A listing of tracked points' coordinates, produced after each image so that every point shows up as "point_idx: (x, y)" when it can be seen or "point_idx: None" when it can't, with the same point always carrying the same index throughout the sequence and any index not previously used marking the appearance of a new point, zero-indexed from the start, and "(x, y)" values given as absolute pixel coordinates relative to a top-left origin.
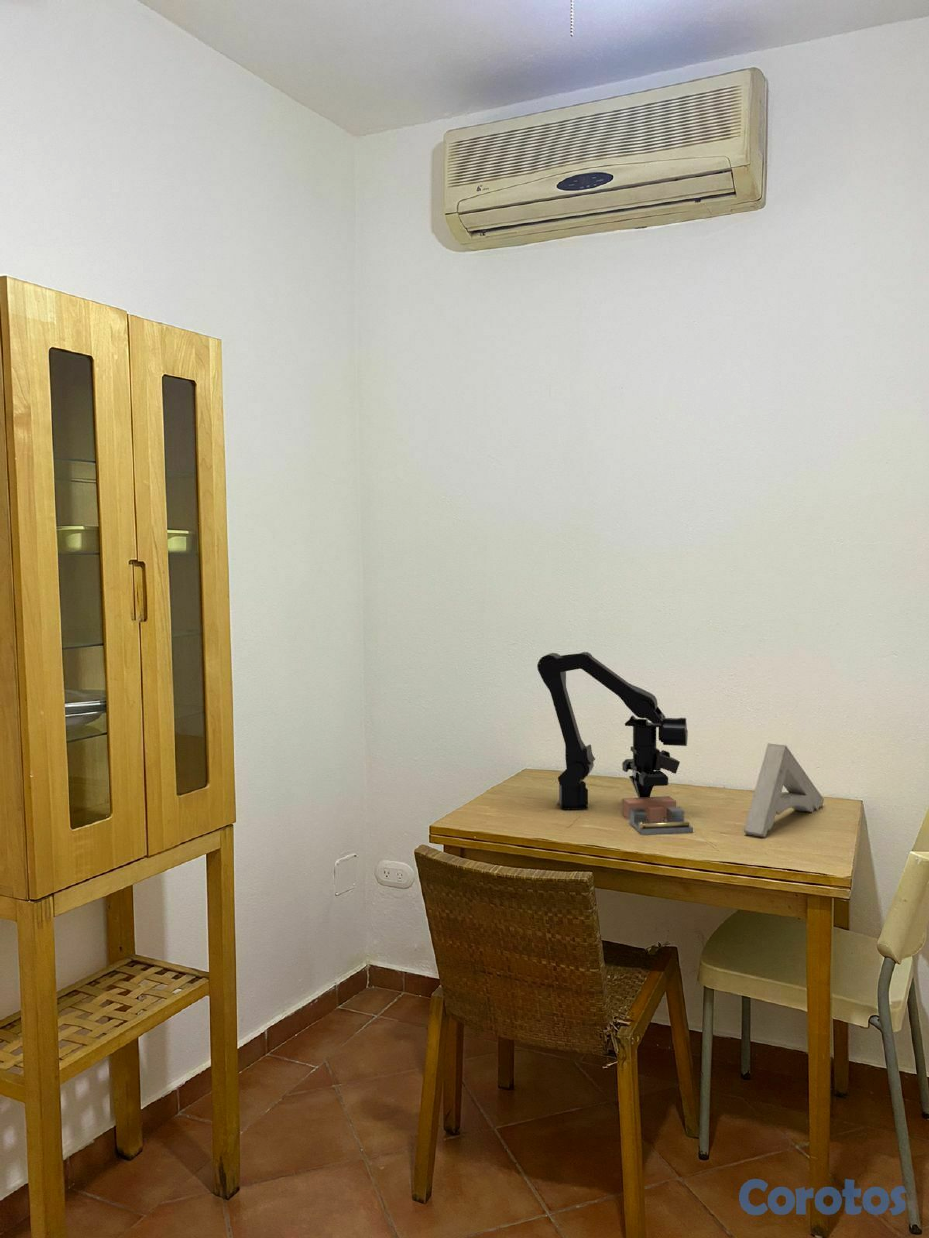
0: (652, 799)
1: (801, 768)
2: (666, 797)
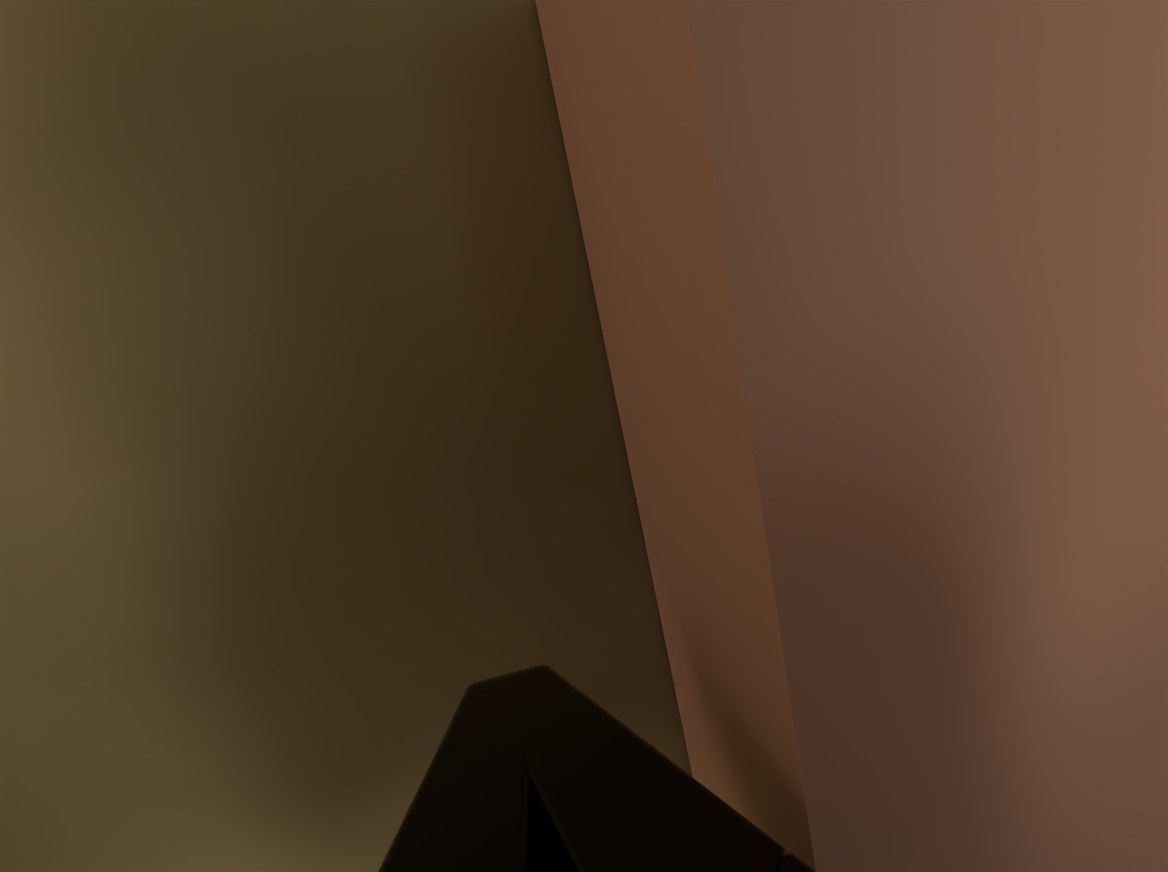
0: (1148, 705)
1: None
2: (920, 97)
